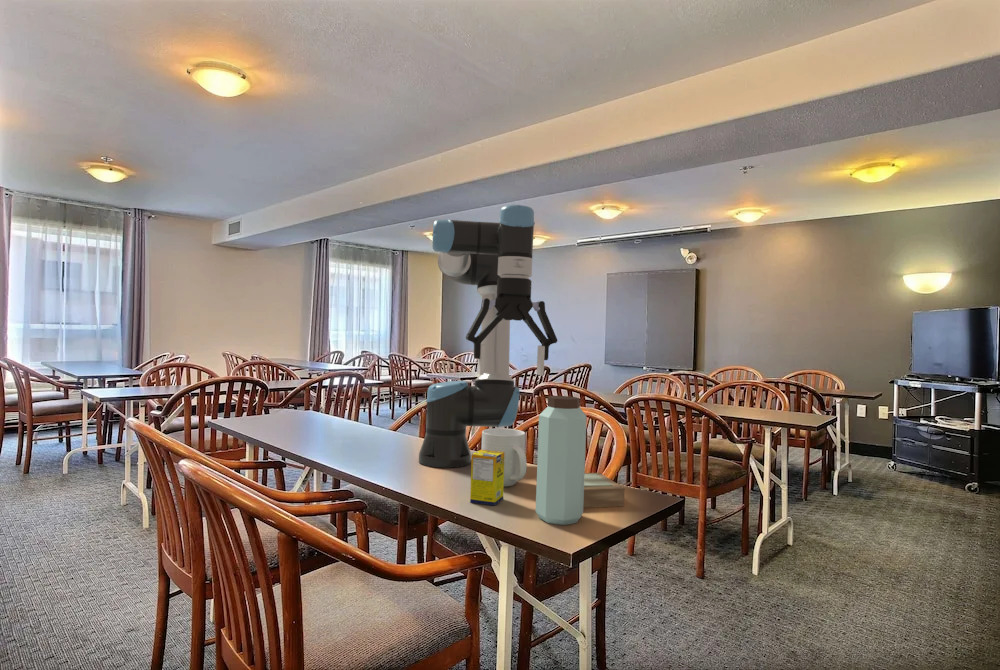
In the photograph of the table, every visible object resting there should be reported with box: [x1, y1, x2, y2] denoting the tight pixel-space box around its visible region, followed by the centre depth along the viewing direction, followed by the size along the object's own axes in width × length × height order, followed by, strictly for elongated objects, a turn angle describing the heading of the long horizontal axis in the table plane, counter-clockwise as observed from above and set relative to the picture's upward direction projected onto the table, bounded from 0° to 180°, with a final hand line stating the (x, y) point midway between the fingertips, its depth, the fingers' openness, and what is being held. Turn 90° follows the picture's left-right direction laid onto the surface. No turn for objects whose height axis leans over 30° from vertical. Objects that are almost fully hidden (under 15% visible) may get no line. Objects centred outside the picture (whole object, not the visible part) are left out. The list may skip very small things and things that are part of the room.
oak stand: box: [583, 472, 625, 509], centre depth 130 cm, size 14×14×4 cm
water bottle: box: [535, 395, 588, 526], centre depth 115 cm, size 10×10×25 cm
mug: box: [481, 427, 528, 488], centre depth 138 cm, size 15×11×13 cm
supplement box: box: [469, 448, 505, 506], centre depth 125 cm, size 6×6×11 cm
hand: (510, 374), depth 122 cm, fingers open, 13 cm apart
